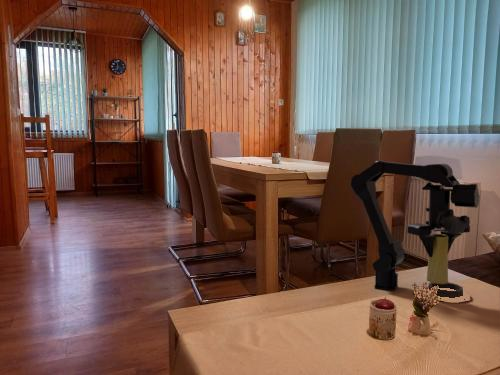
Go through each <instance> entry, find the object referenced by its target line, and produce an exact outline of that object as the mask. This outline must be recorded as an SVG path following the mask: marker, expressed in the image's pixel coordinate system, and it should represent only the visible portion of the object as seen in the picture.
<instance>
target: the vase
mask: <svg viewBox="0 0 500 375" xmlns="http://www.w3.org/2000/svg"><path fill="white" fill-rule="evenodd" d="M433 235H434V236H437V237H436V238H435V240H434V244H433V256H432V257H429V256H428V259H427V260H428V261H427V270H426V271H427V272H426V282H429V283H435V284H447V283H448V282H449V253H448V236H447V235H443V234H441V233H434V234H433Z"/></svg>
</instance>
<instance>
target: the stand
mask: <svg viewBox="0 0 500 375" xmlns="http://www.w3.org/2000/svg"><path fill="white" fill-rule="evenodd" d="M437 285H438V286H439V288H450V289H454V290H456V291H447V290H440V289H438V291H437V294H436V295H437V296H440V297H449V298H455V297H460V296H463V290H464V289H463V286H462V285H459V284H456V283H454V282H449V281H448V283H447V284H435V283H431V282H429V283H428V286H429V290H430V289H431V288H432V287H434V286H437ZM440 299H441V298H440ZM464 300H465V299H464Z"/></svg>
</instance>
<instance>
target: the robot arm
mask: <svg viewBox="0 0 500 375" xmlns="http://www.w3.org/2000/svg"><path fill="white" fill-rule="evenodd" d="M453 172H454V171H453V169H452V167H451V166H450V165H449V164H447V163H435V164H433V163H431V164H422V165H421V164H420V165H419V164H412V163H402V162H392V161H387V160H376V161H375V162H374V163H373V164H372V165H371V166H369V167H368V168H365V170H363V171H361V172H360V173H358V174H355V175H353V176H352V178H350V179H351V180H350V183H349V184H350V186H351V189H352V191H353V192H354V194H355V195H356V196H357V197H358V198H359V200H360V201H361V202H362V204H363V206H364V209H365V212H366V214H367V216H368V219H369V222H370V224H371V227H372V230H373V232H374V235H375V237H376V240H377V253H378V257H379V258H377V260H375V261H374V262H373V263H372V265H371V266H372V267H373V271H374V272H375V277H374V278H375V282H374V286H373V287H374V289H377V290H378V289H380V290H388V291H396V289H397V288H398V285H399V273H398V272H397V268H398V266H399V265H400V264H401V263H402V262H403V260H404V259H405V251H406V250H405V249H404V248H403V244H402V241H401V240H400V239H398V240H396V239H394V237H393V236H392V234H391V231H390V228H389V226H388V224H387V221H386V219H385V216H384V213H383V212H382V209H381V207H380V204H379V202H378V199H377V187H376V182H378V180H380V179H381V177H382V176H383V175H384V174H388V175H389V174H391V175H397V176H407V177H415V178H419V179H421V180H424V181H427V182H426V184H425V185H424V186H423V187H422V188H421V190H423V191H429V192H428V193H429V197H428V198H429V199H428V200H429V202H428V207H426V208H425V211H426V212H428V220H426V221H425V224H424V223H420V222H418V223H410V224H408V226H407V234H409V235H410V234H411V235H415V236H418V238H419V239H420V241H421V243H422V244H423V247H424V248H425V252H426V253H427V255H428V258H429V257H432V256H433V244H434V240H435V238H436V237H437V236H434V235H433V234H435V233H434V232H440V234H443V235H447V236H448V254H449V252H450V250H451V249H452V248H451V247H452V246H453V243H454V241H455V240H456V239H457V238H458V237H459V236H462V234H464V233H470V232H471V226H470V224H471V220H470V219H471V218H470V216H468V215H460V216H459V215H457V216H456V215H455V214H454V212H455V211H454V209H453V208H451V204H453V205H454V206H455V207H459V208H460V207H461V208H462V207H463V208H474V209H478V207H479V204H480V196H481V195H480V194H479V193H480V192H479V189H478V184H477V183H471V184H470V183H469V184H467V183H460V182H459V181H458V179H457V178H456V177H455V175H454V174H453ZM433 183H434V184H433Z"/></svg>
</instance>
